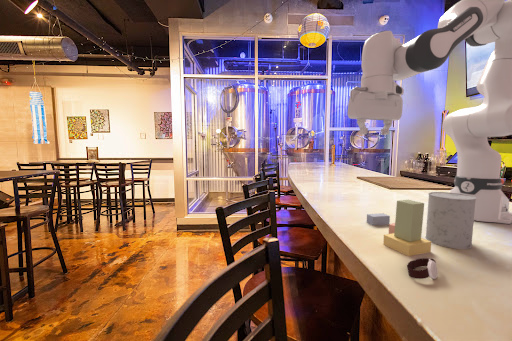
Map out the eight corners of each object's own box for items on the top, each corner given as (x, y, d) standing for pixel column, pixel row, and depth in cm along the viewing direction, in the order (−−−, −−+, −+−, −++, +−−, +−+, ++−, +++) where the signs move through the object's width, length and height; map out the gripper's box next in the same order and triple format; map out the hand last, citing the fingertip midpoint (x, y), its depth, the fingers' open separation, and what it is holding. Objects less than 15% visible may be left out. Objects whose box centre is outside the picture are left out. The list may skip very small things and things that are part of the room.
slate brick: (382, 222, 79) (383, 213, 79) (389, 224, 76) (389, 215, 76) (366, 223, 78) (366, 214, 78) (372, 225, 75) (372, 216, 75)
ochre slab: (403, 242, 63) (404, 231, 62) (430, 253, 56) (431, 241, 56) (383, 246, 60) (383, 234, 60) (408, 258, 54) (409, 245, 54)
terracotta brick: (399, 230, 71) (400, 220, 70) (410, 233, 68) (411, 223, 68) (388, 234, 68) (389, 224, 67) (399, 237, 65) (399, 227, 65)
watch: (428, 287, 42) (430, 267, 42) (400, 275, 46) (401, 257, 46) (442, 273, 47) (444, 255, 47) (415, 264, 51) (416, 247, 50)
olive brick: (404, 234, 61) (407, 199, 60) (420, 239, 57) (424, 203, 56) (394, 236, 59) (397, 200, 58) (410, 242, 55) (413, 204, 54)
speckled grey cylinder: (482, 250, 57) (486, 200, 55) (437, 247, 59) (440, 198, 57) (456, 236, 66) (460, 192, 65) (418, 233, 68) (421, 191, 67)
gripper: (360, 83, 66) (358, 133, 67) (407, 89, 74) (405, 134, 75) (343, 88, 71) (341, 134, 73) (388, 93, 80) (387, 135, 81)
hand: (374, 134), depth 74 cm, fingers open, 8 cm apart
